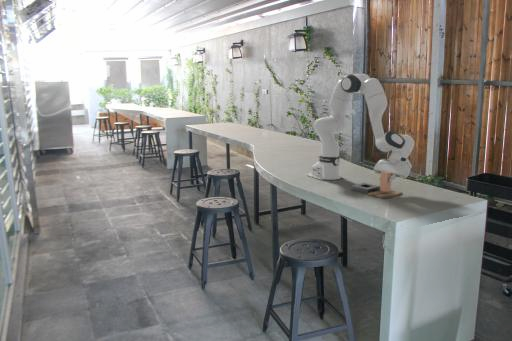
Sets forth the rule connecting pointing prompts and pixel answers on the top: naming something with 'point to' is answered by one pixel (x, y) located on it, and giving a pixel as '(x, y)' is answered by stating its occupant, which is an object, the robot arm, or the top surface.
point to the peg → (385, 181)
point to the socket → (365, 188)
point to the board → (384, 194)
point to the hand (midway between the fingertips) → (385, 180)
